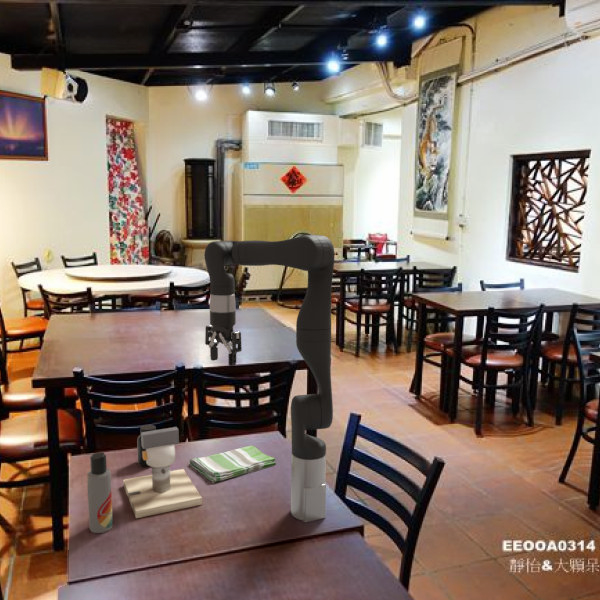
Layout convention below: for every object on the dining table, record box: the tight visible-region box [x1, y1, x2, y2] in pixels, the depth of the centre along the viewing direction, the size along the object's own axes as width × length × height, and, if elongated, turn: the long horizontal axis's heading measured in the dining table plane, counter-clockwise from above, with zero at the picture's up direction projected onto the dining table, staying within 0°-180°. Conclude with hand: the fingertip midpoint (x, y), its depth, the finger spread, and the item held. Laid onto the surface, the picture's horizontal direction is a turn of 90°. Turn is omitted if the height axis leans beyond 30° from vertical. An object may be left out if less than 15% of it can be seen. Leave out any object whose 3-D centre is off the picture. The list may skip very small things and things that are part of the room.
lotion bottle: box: [86, 451, 113, 534], centre depth 151 cm, size 6×6×20 cm
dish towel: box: [189, 445, 277, 484], centre depth 190 cm, size 17×23×4 cm
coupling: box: [140, 426, 180, 468], centre depth 167 cm, size 10×8×9 cm
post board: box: [122, 465, 203, 519], centre depth 169 cm, size 20×18×10 cm
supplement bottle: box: [136, 424, 157, 468], centre depth 190 cm, size 7×7×12 cm
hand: (223, 362), depth 176 cm, fingers open, 8 cm apart
